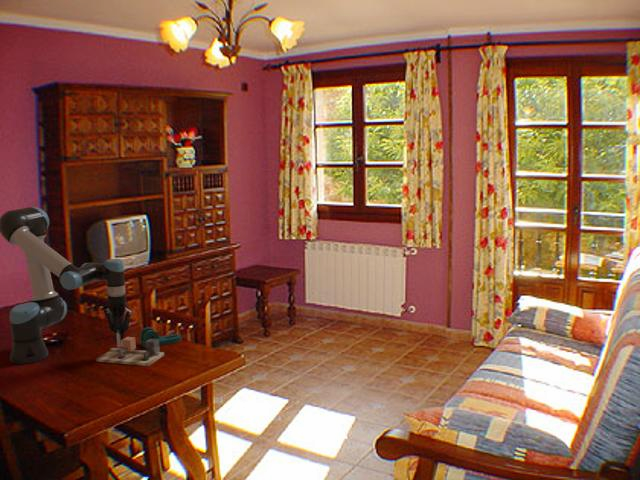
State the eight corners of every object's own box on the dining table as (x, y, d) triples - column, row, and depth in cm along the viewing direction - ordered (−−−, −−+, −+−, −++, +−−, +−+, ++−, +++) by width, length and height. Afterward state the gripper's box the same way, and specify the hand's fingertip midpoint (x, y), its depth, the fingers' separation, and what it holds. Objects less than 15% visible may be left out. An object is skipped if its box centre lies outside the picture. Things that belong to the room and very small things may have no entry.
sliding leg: (116, 356, 258) (115, 343, 256) (128, 349, 266) (127, 336, 265) (124, 357, 256) (123, 344, 255) (136, 349, 265) (135, 337, 264)
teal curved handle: (144, 349, 271) (143, 332, 270) (140, 344, 277) (139, 328, 276) (183, 341, 281) (182, 325, 279) (178, 337, 286) (177, 321, 285)
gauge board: (96, 361, 257) (95, 344, 256) (114, 350, 269) (112, 334, 268) (148, 366, 251) (147, 349, 249) (164, 355, 263) (163, 338, 262)
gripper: (98, 296, 258) (102, 348, 263) (125, 297, 255) (128, 350, 259) (108, 291, 265) (112, 342, 270) (134, 293, 262) (138, 344, 266)
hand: (120, 346), depth 264 cm, fingers closed
